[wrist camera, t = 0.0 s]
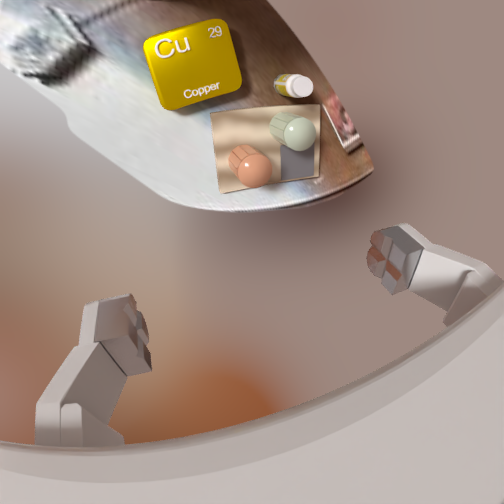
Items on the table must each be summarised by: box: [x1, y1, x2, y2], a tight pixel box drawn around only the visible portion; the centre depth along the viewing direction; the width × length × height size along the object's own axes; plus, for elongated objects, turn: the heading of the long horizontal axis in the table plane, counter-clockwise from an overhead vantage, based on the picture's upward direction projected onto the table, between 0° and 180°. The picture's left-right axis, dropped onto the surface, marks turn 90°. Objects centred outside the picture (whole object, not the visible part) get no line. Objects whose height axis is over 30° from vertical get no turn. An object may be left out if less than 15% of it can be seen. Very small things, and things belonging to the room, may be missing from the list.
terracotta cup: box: [228, 144, 272, 188], centre depth 51 cm, size 6×6×8 cm
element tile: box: [143, 19, 242, 110], centre depth 40 cm, size 15×15×5 cm
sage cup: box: [269, 112, 316, 151], centre depth 50 cm, size 6×6×8 cm
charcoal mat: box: [280, 142, 315, 181], centre depth 58 cm, size 8×8×1 cm
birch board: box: [210, 104, 320, 193], centre depth 55 cm, size 17×23×2 cm
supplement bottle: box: [274, 74, 313, 98], centre depth 45 cm, size 5×5×8 cm
